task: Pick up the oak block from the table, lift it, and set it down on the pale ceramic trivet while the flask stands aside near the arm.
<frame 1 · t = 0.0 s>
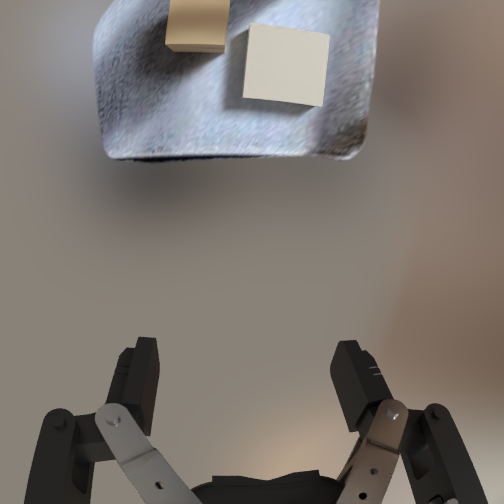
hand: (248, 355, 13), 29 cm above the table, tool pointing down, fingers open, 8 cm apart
oak block: (201, 29, 30), on the table
trivet: (282, 66, 33), on the table
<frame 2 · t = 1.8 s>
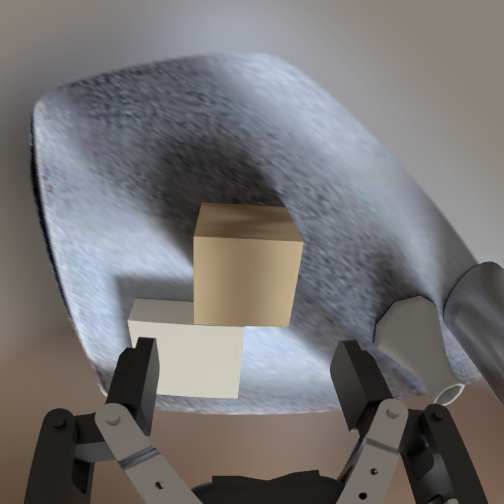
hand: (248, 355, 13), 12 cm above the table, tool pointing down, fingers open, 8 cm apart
oak block: (241, 242, 24), on the table
flask: (403, 322, 29), on the table
trivet: (189, 341, 28), on the table
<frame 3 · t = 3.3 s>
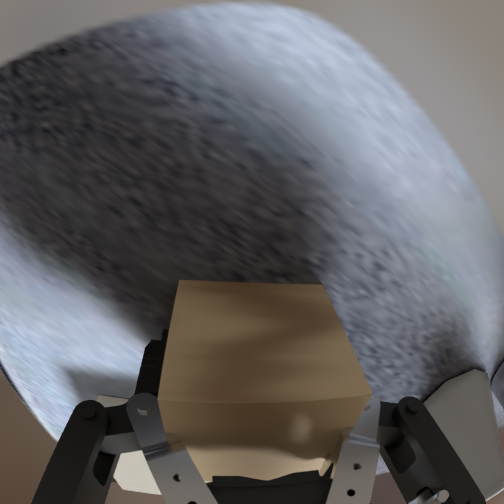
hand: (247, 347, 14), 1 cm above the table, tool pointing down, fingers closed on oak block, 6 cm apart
oak block: (246, 337, 14), on the table, touching gripper
flask: (448, 396, 20), on the table
trivet: (176, 439, 18), on the table
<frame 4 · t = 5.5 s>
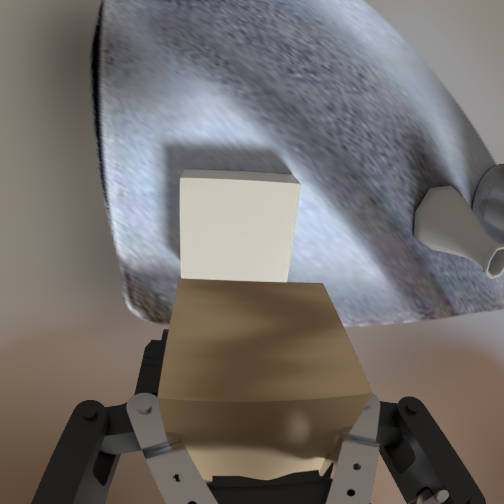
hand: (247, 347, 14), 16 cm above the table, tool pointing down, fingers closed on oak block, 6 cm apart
oak block: (246, 335, 14), point 15 cm above the table, touching gripper
flask: (438, 216, 29), on the table
trivet: (235, 221, 28), on the table
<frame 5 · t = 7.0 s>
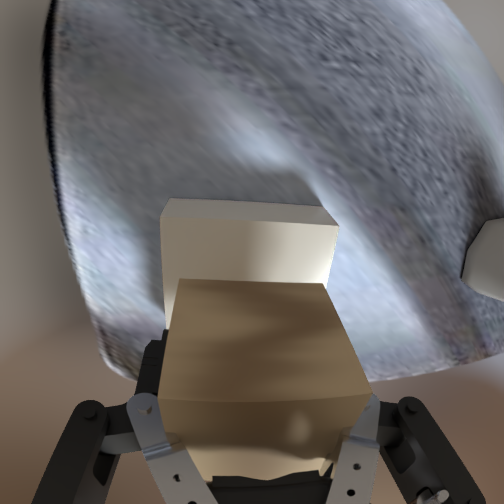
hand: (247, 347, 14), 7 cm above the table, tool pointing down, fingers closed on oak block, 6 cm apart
oak block: (246, 335, 14), point 6 cm above the table, touching gripper
flask: (489, 253, 22), on the table
trivet: (242, 269, 20), on the table
when the fingers open (5 cm above the table, at t = 8.0 s): oak block drops 1 cm, resting on trivet.
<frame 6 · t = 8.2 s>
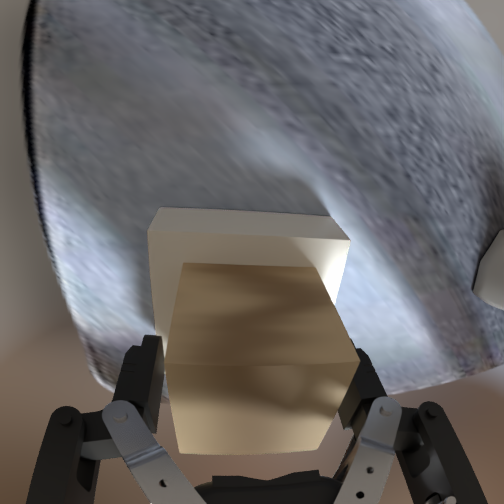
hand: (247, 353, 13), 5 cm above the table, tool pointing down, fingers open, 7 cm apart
oak block: (245, 318, 16), point 3 cm above the table, touching trivet
flask: (501, 263, 20), on the table
trivet: (240, 285, 18), on the table
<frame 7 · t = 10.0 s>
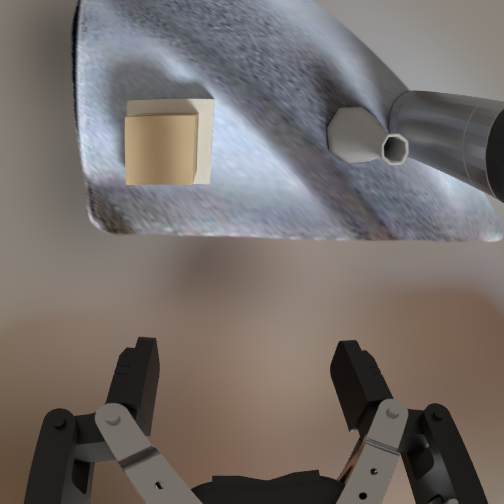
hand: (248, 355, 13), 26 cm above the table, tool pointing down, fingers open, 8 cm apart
oak block: (168, 141, 30), point 3 cm above the table, touching trivet
flask: (353, 134, 35), on the table
trivet: (172, 138, 33), on the table
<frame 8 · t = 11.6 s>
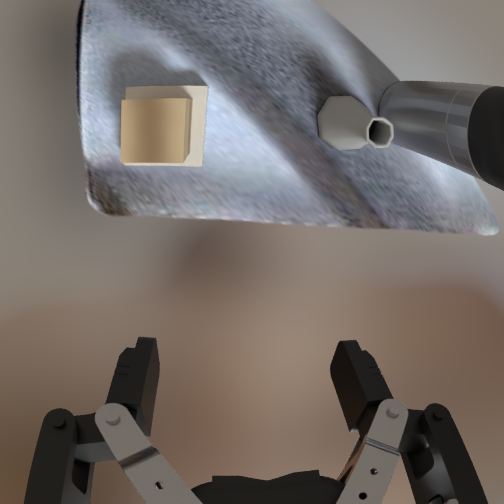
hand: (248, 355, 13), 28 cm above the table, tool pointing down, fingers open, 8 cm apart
oak block: (163, 125, 32), point 3 cm above the table, touching trivet
flask: (343, 122, 36), on the table
trivet: (167, 123, 34), on the table
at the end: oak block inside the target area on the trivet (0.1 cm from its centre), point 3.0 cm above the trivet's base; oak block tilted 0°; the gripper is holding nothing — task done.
